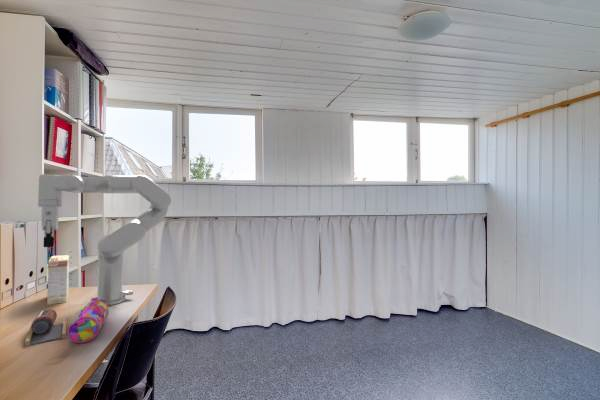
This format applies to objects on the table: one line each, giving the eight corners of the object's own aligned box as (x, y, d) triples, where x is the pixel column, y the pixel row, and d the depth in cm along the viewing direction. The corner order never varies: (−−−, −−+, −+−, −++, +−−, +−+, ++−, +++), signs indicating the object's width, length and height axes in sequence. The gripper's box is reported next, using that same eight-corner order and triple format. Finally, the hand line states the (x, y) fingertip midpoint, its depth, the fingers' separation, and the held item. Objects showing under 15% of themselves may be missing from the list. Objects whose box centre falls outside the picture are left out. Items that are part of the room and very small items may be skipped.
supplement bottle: (61, 313, 109) (57, 324, 100) (47, 327, 107) (42, 340, 97) (45, 305, 106) (39, 316, 97) (31, 319, 104) (24, 332, 95)
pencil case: (80, 322, 110) (81, 298, 110) (109, 317, 115) (110, 295, 115) (65, 347, 91) (66, 319, 91) (101, 341, 96) (101, 314, 96)
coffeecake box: (50, 295, 139) (51, 255, 139) (68, 293, 143) (69, 254, 143) (46, 305, 127) (47, 261, 127) (66, 302, 131) (68, 259, 131)
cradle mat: (66, 323, 108) (66, 319, 108) (65, 337, 97) (65, 333, 97) (30, 330, 102) (30, 326, 102) (25, 346, 91) (25, 341, 91)
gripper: (60, 204, 118) (59, 248, 117) (62, 203, 129) (60, 243, 129) (36, 203, 113) (34, 250, 113) (39, 203, 125) (38, 245, 124)
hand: (48, 246), depth 121 cm, fingers closed
